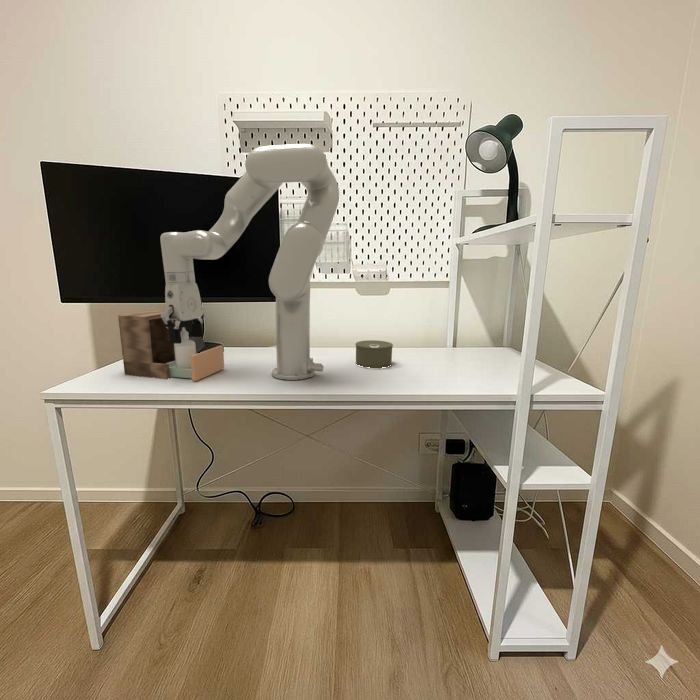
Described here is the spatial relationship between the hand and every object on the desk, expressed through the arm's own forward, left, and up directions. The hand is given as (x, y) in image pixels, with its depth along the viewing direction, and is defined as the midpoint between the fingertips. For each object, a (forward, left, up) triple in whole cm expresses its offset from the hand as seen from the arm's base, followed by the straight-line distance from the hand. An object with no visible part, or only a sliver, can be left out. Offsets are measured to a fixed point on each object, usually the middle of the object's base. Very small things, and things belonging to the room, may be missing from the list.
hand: (187, 339), depth 111 cm
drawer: (0, 0, -10) cm, 10 cm away
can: (-49, -27, -10) cm, 57 cm away
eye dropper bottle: (+1, 0, -9) cm, 9 cm away
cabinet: (+9, 0, -10) cm, 13 cm away
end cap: (+13, -18, -10) cm, 24 cm away
